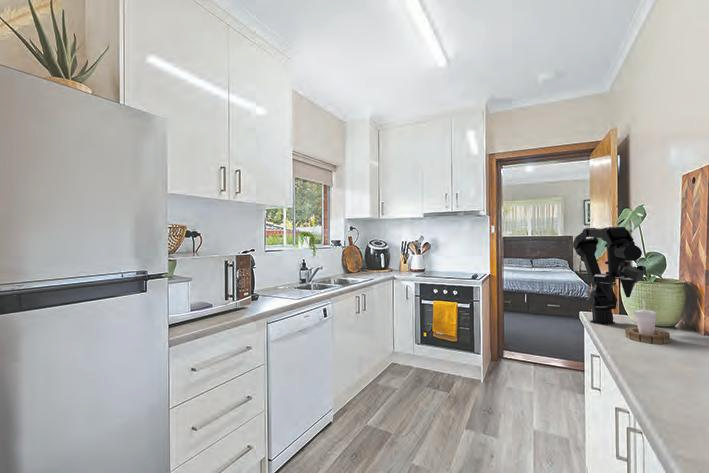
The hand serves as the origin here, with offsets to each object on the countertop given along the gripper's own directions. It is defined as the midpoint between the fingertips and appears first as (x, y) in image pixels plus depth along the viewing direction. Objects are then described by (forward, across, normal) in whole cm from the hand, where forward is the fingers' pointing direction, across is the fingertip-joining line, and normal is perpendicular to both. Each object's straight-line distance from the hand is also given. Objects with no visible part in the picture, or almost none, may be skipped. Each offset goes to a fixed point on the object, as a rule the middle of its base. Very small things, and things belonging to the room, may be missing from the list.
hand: (619, 298), depth 129 cm
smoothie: (+13, 0, -9) cm, 16 cm away
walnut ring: (+13, 0, -9) cm, 16 cm away
